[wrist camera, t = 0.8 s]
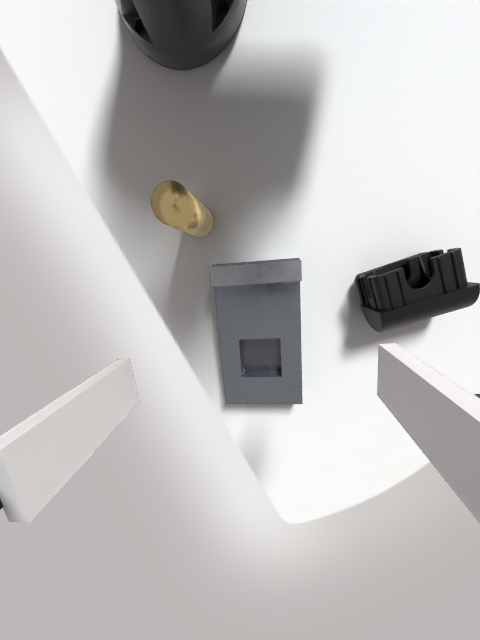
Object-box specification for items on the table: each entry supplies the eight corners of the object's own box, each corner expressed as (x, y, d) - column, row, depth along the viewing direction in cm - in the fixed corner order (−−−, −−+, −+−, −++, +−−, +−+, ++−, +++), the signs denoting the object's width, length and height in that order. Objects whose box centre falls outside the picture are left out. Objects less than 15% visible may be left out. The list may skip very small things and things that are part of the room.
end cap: (363, 324, 33) (387, 338, 27) (350, 276, 32) (371, 279, 25) (440, 301, 31) (486, 310, 25) (429, 249, 30) (474, 245, 24)
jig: (217, 265, 34) (209, 264, 29) (296, 258, 32) (301, 257, 27) (229, 391, 38) (223, 410, 33) (299, 391, 36) (303, 410, 32)
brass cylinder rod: (184, 208, 32) (148, 183, 23) (212, 204, 32) (187, 178, 22) (187, 238, 33) (154, 227, 24) (215, 235, 33) (192, 222, 23)
